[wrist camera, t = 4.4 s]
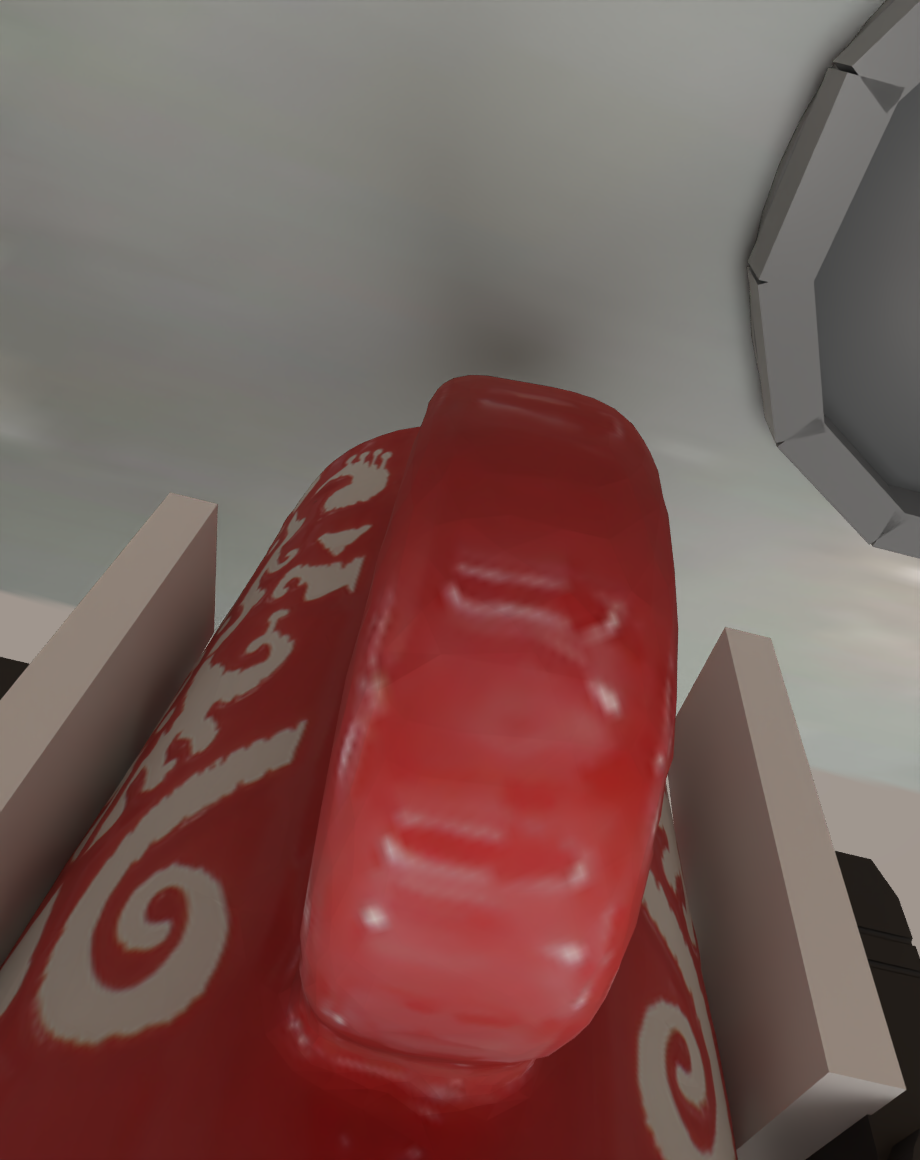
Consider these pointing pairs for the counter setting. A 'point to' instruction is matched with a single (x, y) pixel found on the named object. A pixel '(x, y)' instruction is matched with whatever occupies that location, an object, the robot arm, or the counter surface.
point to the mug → (398, 837)
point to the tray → (849, 285)
